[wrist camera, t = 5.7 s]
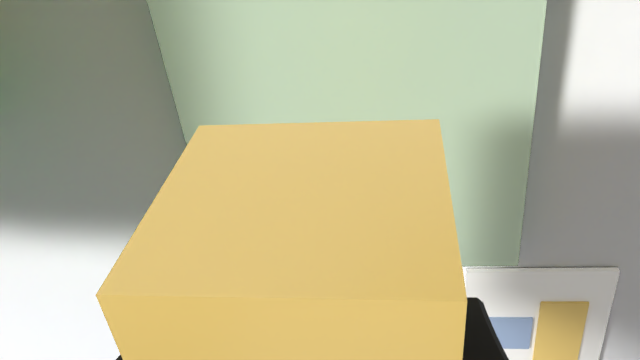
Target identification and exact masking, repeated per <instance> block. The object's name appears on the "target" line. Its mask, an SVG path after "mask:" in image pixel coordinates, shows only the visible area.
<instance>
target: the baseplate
mask: <svg viewBox="0 0 640 360" xmlns="http://www.w3.org/2000/svg"><path fill="white" fill-rule="evenodd" d="M147 4H148V7H149V11H150V15H151V18H152V22H153V26H154V29H155V33H156V37H157V40H158V44H159V47H160V51H161V55H162V58H163V62H164V66H165V69H166V73H167V77H168V80H169V84H170V88H171V91H172V95H173V98H174V102H175V106H176V109H177V113H178V117H179V120H180V124H181V128H182V131H183V135H184V139H185V142H186V146H187V145H188V143H189V141H190V140H191V138H192V136H193V135H194V133H195V131H196V130H197V128H198V126H199V125H235V124H273V123H311V122H350V121H388V120H426V119H439V121H440V128H441V134H442V141H443V147H444V154H445V160H446V166H447V173H448V179H449V186H450V192H451V199H452V205H453V212H454V218H455V225H456V231H457V238H458V244H459V250H460V257H461V263H462V266H518V262H519V253H520V244H521V235H522V225H523V216H524V207H525V198H526V189H527V179H528V170H529V161H530V152H531V143H532V134H533V124H534V115H535V106H536V97H537V88H538V79H539V69H540V60H541V51H542V42H543V33H544V24H545V14H546V5H547V0H147Z"/></svg>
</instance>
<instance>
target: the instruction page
mask: <svg viewBox="0 0 640 360" xmlns="http://www.w3.org/2000/svg"><path fill="white" fill-rule="evenodd" d="M619 275H620V270H619V268H618V267H609V268H466V280H465V289H466V296H467V297H477V298H478V299H480V300H481V301H482V302H483V303H484V306H485V309H486V311H487V314H488V316H489V319H490V321H491V324H492V326H493V328H494V330H495V333H496V335H497V337H498V339H499V341H500V343H501V345H502V347H503V349H504V351H505V353H506V355H507V357H508V359H509V360H599V357H600V353H601V349H602V345H603V341H604V337H605V333H606V328H607V324H608V320H609V316H610V312H611V308H612V304H613V299H614V295H615V291H616V287H617V283H618V279H619Z"/></svg>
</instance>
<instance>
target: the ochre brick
mask: <svg viewBox="0 0 640 360" xmlns="http://www.w3.org/2000/svg"><path fill="white" fill-rule="evenodd" d="M96 297H97V299H98V301H99V304H100V306H101V309H102V311H103V313H104V316H105V318H106V321H107V323H108V325H109V328H110V330H111V333H112V335H113V337H114V340H115V342H116V345H117V347H118V349H119V352H120V354H121V356H122V359H123V360H463V348H464V336H465V324H466V312H467V296H466V289H465V283H464V276H463V270H462V263H461V257H460V250H459V244H458V238H457V231H456V225H455V218H454V212H453V205H452V199H451V192H450V186H449V179H448V173H447V166H446V160H445V154H444V147H443V141H442V134H441V128H440V121H439V119H426V120H388V121H350V122H311V123H273V124H235V125H199V126H198V128H197V130H196V131H195V133H194V135H193V136H192V138H191V140H190V141H189V143H188V145H187V146H186V148H185V149H184V151H183V153H182V154H181V156H180V158H179V159H178V161H177V163H176V164H175V166H174V168H173V169H172V171H171V172H170V174H169V176H168V177H167V179H166V181H165V182H164V184H163V186H162V187H161V189H160V190H159V192H158V194H157V195H156V197H155V199H154V200H153V202H152V204H151V205H150V207H149V209H148V210H147V212H146V213H145V215H144V217H143V218H142V220H141V222H140V223H139V225H138V227H137V228H136V230H135V232H134V233H133V235H132V236H131V238H130V240H129V241H128V243H127V245H126V246H125V248H124V250H123V251H122V253H121V255H120V256H119V258H118V259H117V261H116V263H115V264H114V266H113V268H112V269H111V271H110V273H109V274H108V276H107V278H106V279H105V281H104V282H103V284H102V286H101V287H100V289H99V291H98V292H97V294H96Z"/></svg>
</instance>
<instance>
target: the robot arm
mask: <svg viewBox="0 0 640 360" xmlns="http://www.w3.org/2000/svg"><path fill="white" fill-rule="evenodd" d="M116 360H123V359H122V356H121V355H120V356H119V357H118V358H117V359H116ZM463 360H509V359H508V357H507V355H506V353H505V351H504V349H503V347H502V345H501V343H500V341H499V339H498V337H497V335H496V333H495V330H494V328H493V326H492V324H491V321H490V319H489V316H488V314H487V311H486V309H485V306H484V303H483V302H482V301H481V300H480V299H478V298H477V297H467V312H466V324H465V336H464V348H463Z"/></svg>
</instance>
